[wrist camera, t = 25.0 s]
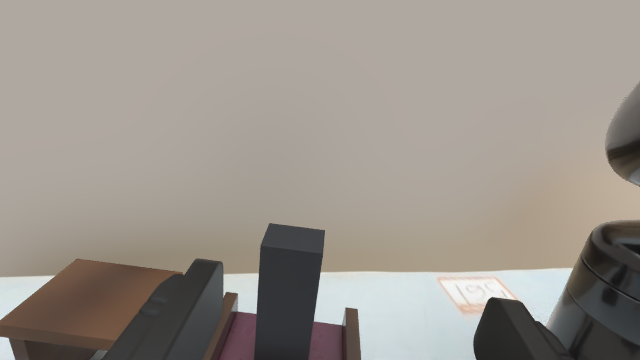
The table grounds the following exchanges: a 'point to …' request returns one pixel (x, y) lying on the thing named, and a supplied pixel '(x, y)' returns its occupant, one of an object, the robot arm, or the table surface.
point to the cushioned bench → (233, 307)
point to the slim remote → (287, 291)
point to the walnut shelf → (79, 310)
